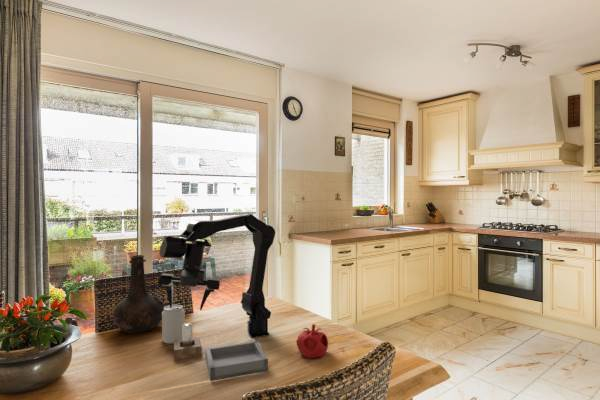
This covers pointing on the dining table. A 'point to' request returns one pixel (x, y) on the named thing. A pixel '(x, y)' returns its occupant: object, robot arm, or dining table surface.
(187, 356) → the socket block
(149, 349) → the dining table surface
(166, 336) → the can
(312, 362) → the dining table surface
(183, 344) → the pin
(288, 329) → the dining table surface
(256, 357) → the tray
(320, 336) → the pomegranate
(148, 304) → the brown vase
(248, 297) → the robot arm
